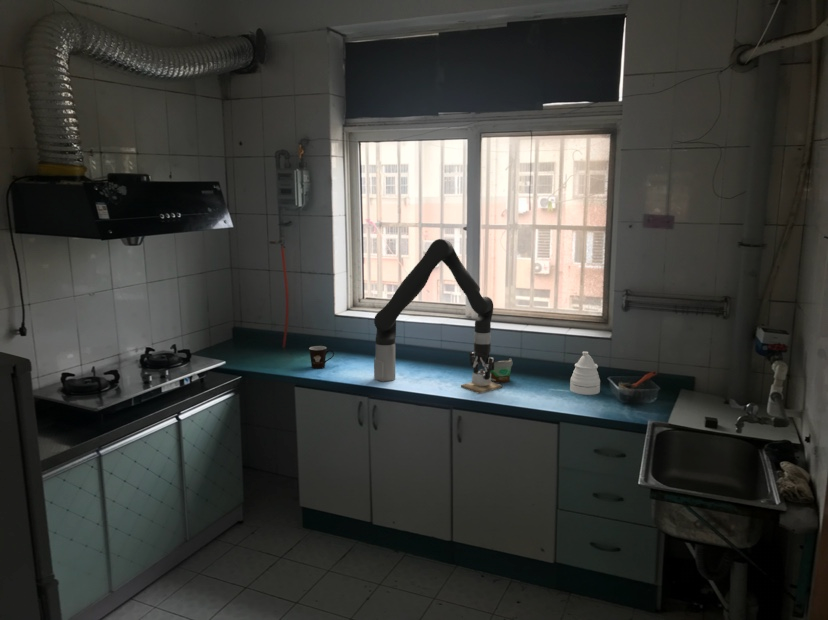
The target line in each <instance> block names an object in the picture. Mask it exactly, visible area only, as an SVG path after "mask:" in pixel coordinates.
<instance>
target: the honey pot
mask: <svg viewBox="0 0 828 620" xmlns="http://www.w3.org/2000/svg"><path fill="white" fill-rule="evenodd" d="M574 367H575V368H574V370H573V371H572V372H573V373H572V375H571V377H570V382H569V390H570V391H571V392H572V393H574V394H578V395H585V396H587V395H588V396H591V395H597V394H600V391H601V379H600V375H599V372H598V370H597V369H598V367H599V365H598V364H597V363H595V361H594V358H592V356H591V355H590V354H589V351H582V355H581V357H580V358H579V359H578V361H577V362H576V363H575V364H574Z"/></svg>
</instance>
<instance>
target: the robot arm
mask: <svg viewBox="0 0 828 620" xmlns="http://www.w3.org/2000/svg"><path fill="white" fill-rule="evenodd" d="M441 262H443V264H444V265H446V267H447V268H448V269H449V271H450V272H451V274H452V275H453V276H452V277H453V278H454V280H455V281H456V284H457V285H458V287H459V288H460V289H461V291H462V293H463V294H464V295H465V296H466V298H467V300H468V303H469V305H470V307H471V309H472V310H473V311H474V312H475V314H477V315H478V316H477V318H476V319H475V321H474V334H473V351H472V352H469V364H470V367H472V368H473V372H472V373H474V372H478V371H479V366H480V364H481V365H482V367H483V369H484V372H485V379H486V380H488V379H489V378H490V371H493V370H494V363H495V362H496V361H495V359H496V358H495V357H491V356H490V353H491V349H492V348H491V347H492V346H491V344H492V334H491V331H492V330H491V328H492V327H491V325H492V323H491V321H492V318H493V314H494V302H493V300H492V298H491V297H489V296H482V294H481V293H480V290H481V288H480V286H479V284H478V282H476V281H475V279H474V278H473V277H472V275H471V274H470V272H468V269H466V267H465V266H464V264H463V263H462V261H461V260H460V257H459V256H458V254H457V252H456V250H455V249H454V246H453V244H452V243H451V241H449V240H446V239H443V238H438V239H435V240H434V241H433V242H431V244H430V245H429V247H428V248H427V250H426V252H425V253H424V255H423V256H422V257H421V259H420V261H419V262H417V264H416V265H415V266H414V267H413V269H412V270H411V271H409V274H407V275H406V277H405V278H404V280H402V281H401V283H400V284H399V286H398V287H397V289H396V291H395V292H394V293H393V295H392V297H391V298H390V300H389V301H388V303H387V304H386V305H384V306H383V308H382V309H381V310H379V311H378V312H377V313H376V314H375V316H374V319H373V321H374V326H375V328H376V335H375V358H374V360H373V374H374V375H373V378H374V380H377V381H380V382H390V381H394V380H395V379H396V338H397V337H396V335H397V319H398V317H399V316H400V315H401V313H402V312H403V311H404V309H406V308H407V307H408V305H410V304H411V302H413V301H414V300H415V299H416V298H417V296H418V295H419V294H420V293H421V291H422V290H423V289H424V288H425V286H426V285H427V283H428V281H429V279H430V276H431V274H432V272H433V271H434V270H435V268H436V267H437V266H438V265H439V264H440V263H441ZM491 366H492V367H491Z"/></svg>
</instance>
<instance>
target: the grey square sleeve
mask: <svg viewBox="0 0 828 620" xmlns="http://www.w3.org/2000/svg"><path fill="white" fill-rule="evenodd" d="M479 372H480V370H478V372H474V373H473V372H471V373H472V374H471V382H472V384H475V385H477V386H480V387H483V386H487V385H491V374H490V378H489V379H488V380H486V379H485V370H483V372H484V375H480V374H479Z"/></svg>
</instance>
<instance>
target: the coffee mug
mask: <svg viewBox="0 0 828 620" xmlns="http://www.w3.org/2000/svg"><path fill="white" fill-rule="evenodd" d="M308 350H309V356H310V364H311V368H312V370H322V369H325V366H326V363H327V362H328V361H329V360H331V359H332V358H333V357H334V355H335V352H334V351H333V350H331V349H329V350H327V347H326V346H323V345H315V346H310V347H309V348H308ZM329 352H331V353H332V356H330V357H329V358H328V359H326V355H327V354H328V353H329Z"/></svg>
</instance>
